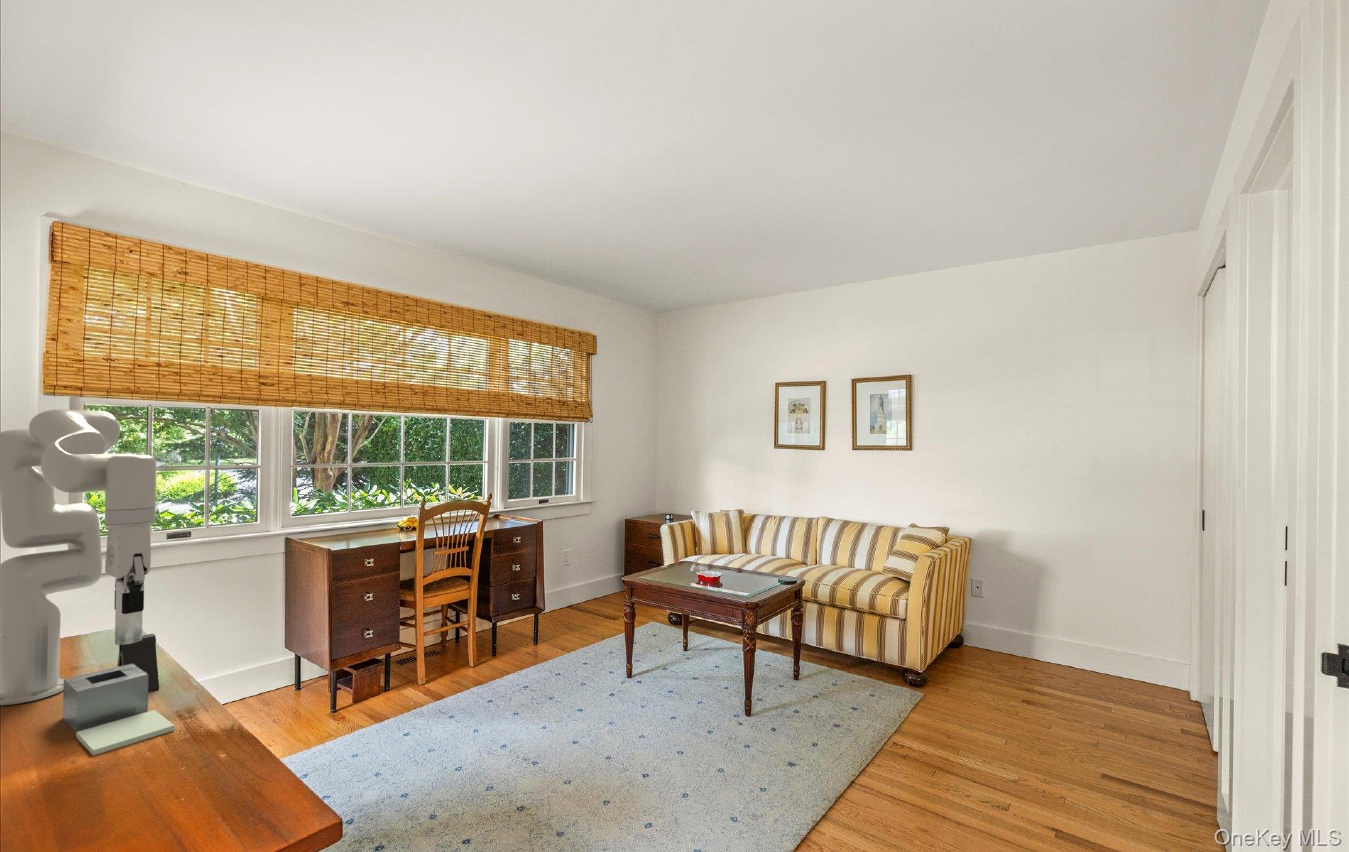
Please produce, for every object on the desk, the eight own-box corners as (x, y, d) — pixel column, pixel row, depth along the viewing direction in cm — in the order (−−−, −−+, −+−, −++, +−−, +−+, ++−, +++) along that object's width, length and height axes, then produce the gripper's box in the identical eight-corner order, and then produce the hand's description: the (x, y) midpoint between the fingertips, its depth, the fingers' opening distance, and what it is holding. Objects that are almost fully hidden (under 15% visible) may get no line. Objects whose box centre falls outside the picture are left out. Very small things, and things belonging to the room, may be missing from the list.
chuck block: (62, 717, 128) (63, 679, 128) (131, 699, 137) (132, 663, 137) (76, 732, 121) (77, 691, 121) (147, 712, 130) (148, 674, 130)
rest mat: (76, 737, 119) (76, 731, 119) (154, 714, 129) (154, 709, 129) (93, 755, 113) (93, 750, 113) (174, 730, 122) (174, 725, 122)
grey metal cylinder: (112, 642, 121) (113, 580, 121) (138, 636, 124) (139, 577, 124) (118, 646, 118) (119, 583, 119) (144, 640, 122) (145, 579, 122)
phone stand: (114, 688, 143) (115, 636, 143) (147, 680, 147) (148, 630, 148) (125, 698, 137) (126, 644, 138) (159, 689, 142) (160, 637, 142)
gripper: (93, 516, 124) (91, 608, 123) (118, 522, 114) (116, 622, 113) (141, 513, 130) (140, 600, 129) (168, 518, 120) (167, 612, 120)
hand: (129, 609), depth 121 cm, fingers closed on grey metal cylinder, 4 cm apart
